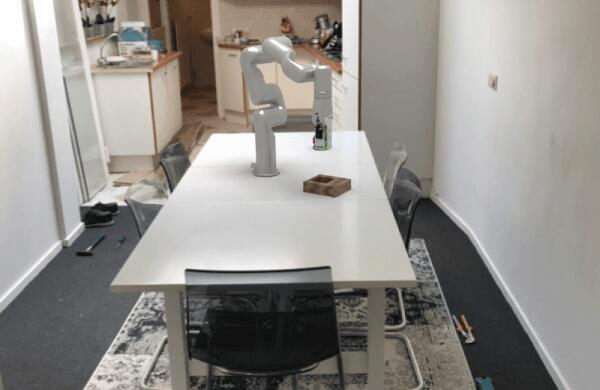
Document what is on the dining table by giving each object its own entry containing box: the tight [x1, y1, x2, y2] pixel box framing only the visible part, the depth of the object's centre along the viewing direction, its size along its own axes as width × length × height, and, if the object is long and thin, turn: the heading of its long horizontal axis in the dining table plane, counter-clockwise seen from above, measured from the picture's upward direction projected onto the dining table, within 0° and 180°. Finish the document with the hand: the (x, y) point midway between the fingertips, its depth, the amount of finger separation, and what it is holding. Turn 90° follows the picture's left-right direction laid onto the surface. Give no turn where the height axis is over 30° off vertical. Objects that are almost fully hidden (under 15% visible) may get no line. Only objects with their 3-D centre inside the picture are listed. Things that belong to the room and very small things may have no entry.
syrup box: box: [314, 115, 333, 151], centre depth 278 cm, size 6×6×14 cm
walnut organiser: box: [302, 173, 352, 198], centre depth 284 cm, size 16×14×4 cm
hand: (323, 136), depth 279 cm, fingers closed on syrup box, 6 cm apart
